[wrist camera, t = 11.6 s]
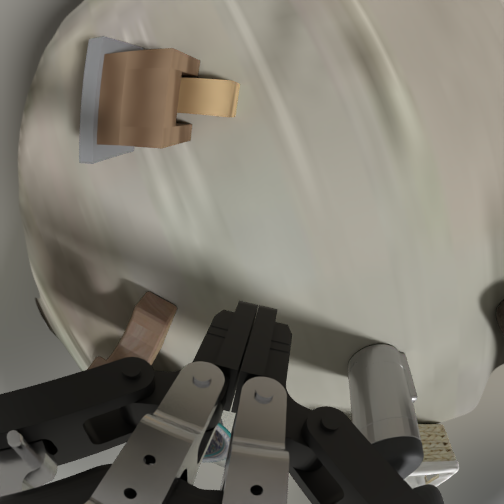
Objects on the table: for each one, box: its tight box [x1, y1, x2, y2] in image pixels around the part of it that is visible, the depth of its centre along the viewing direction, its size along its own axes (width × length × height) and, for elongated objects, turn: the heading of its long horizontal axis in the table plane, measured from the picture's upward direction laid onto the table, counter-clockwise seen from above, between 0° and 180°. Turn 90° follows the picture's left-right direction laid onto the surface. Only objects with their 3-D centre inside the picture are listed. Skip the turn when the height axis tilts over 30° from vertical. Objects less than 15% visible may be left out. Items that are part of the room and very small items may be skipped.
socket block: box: [97, 48, 200, 148], centre depth 28 cm, size 8×10×8 cm
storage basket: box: [404, 424, 459, 489], centre depth 47 cm, size 24×16×15 cm
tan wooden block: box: [177, 78, 240, 117], centre depth 30 cm, size 10×4×4 cm, turn 82°
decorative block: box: [87, 292, 177, 370], centre depth 39 cm, size 11×6×20 cm, turn 153°
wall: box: [79, 36, 144, 164], centre depth 29 cm, size 2×14×9 cm, turn 172°
